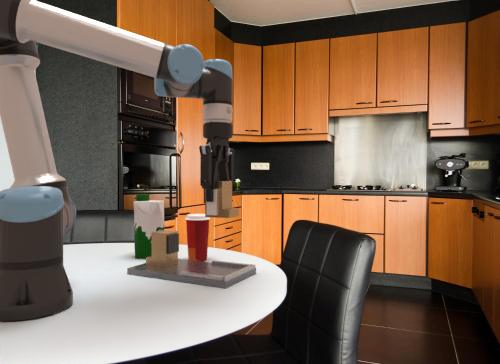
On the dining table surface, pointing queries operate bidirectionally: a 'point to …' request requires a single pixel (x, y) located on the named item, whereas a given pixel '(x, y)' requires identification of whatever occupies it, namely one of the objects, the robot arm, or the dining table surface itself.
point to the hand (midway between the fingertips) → (217, 213)
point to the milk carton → (146, 223)
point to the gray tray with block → (188, 265)
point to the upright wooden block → (223, 201)
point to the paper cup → (197, 236)
